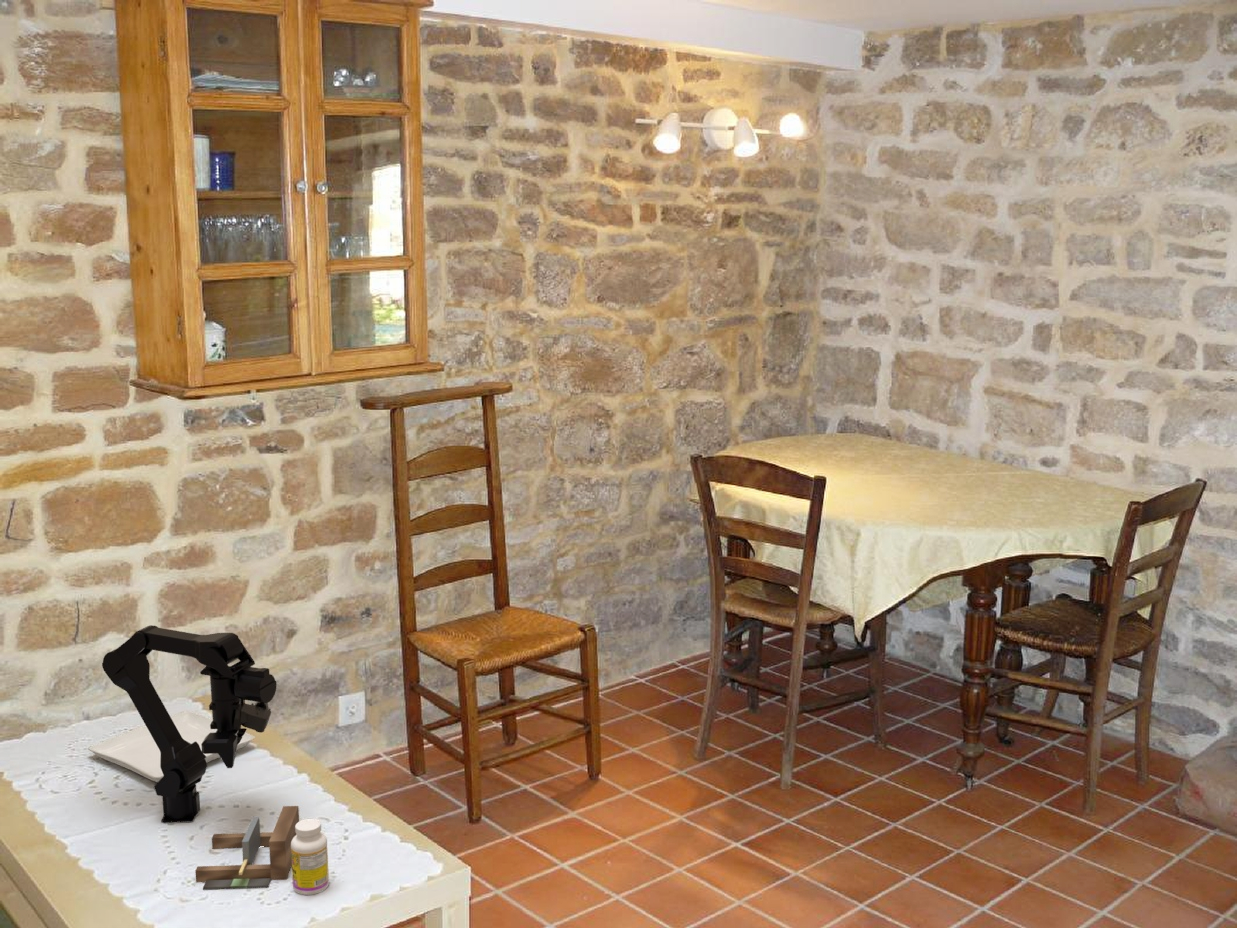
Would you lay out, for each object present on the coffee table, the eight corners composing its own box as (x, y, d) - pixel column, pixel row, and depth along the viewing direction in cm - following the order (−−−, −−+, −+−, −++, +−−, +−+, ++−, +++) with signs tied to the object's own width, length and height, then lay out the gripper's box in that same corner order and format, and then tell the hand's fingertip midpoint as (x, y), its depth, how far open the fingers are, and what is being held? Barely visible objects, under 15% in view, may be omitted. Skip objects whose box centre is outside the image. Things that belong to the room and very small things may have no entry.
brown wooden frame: (192, 890, 232) (189, 851, 230) (214, 844, 249) (212, 808, 247) (284, 887, 233) (282, 848, 232) (300, 842, 250) (298, 805, 248)
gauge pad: (237, 883, 232) (236, 854, 231) (254, 844, 247) (253, 816, 246) (244, 883, 233) (242, 854, 231) (260, 844, 247) (259, 816, 246)
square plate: (187, 722, 309) (186, 708, 308) (258, 750, 293) (257, 735, 292) (87, 760, 287) (85, 744, 286) (157, 792, 272) (156, 776, 271)
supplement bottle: (296, 878, 237) (293, 816, 234) (331, 876, 237) (328, 815, 235) (290, 896, 230) (286, 833, 227) (326, 895, 231) (323, 832, 228)
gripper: (256, 713, 242) (260, 786, 245) (275, 678, 261) (278, 747, 264) (198, 714, 241) (203, 788, 245) (221, 679, 260) (225, 748, 263)
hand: (230, 767), depth 254 cm, fingers closed
